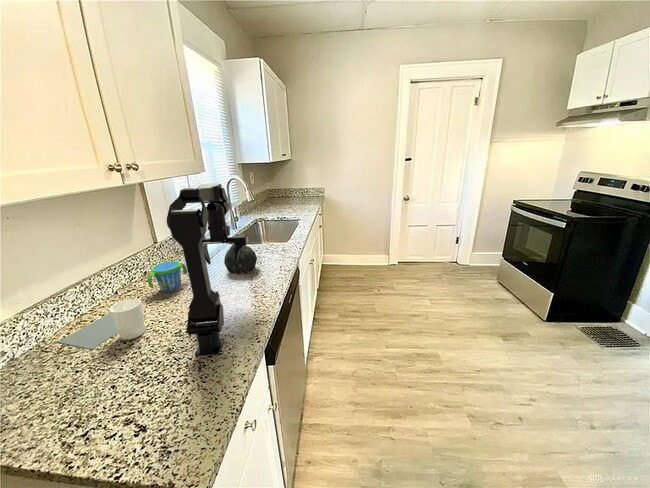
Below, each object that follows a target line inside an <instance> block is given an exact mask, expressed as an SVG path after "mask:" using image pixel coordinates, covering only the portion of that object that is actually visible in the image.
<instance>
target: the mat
mask: <svg viewBox="0 0 650 488" xmlns="http://www.w3.org/2000/svg"><path fill="white" fill-rule="evenodd" d="M143 315H144V317H146V315H145V314H143ZM117 334H119V332H118V331H117V329H116V326H115V324H114V321H113V319H112V316H111V313H110V312H109V313H108V314H105V315H104V316H102V317H100V318H98V319H96V320H95V321H93V322H91V323H89V324H87V325H86V326H84V327H81V328H80V329H79V330H76V331H74V332H72V333H71V334H69V335H67V336H66V337H64V338H61V339H60V340H57V344H63V345H68V346H73V347H77V348H82V349H88V350H94V349H96V348H97V347H99V346H100V345H102V344H103V343H105V342H106V341H108V340H110V339H111V338H112V337H115V336H116V335H117Z"/></svg>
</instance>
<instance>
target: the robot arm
mask: <svg viewBox="0 0 650 488" xmlns="http://www.w3.org/2000/svg"><path fill="white" fill-rule="evenodd" d="M187 204H201V209H200V208H190V209H184V208H186V206H187ZM206 204H207V205H206ZM168 207H169V208H168V212H167V216H166V224H167V225H166V226H167V227H168V229H169V231H170V234H171V236H172V239H173V240H175V241H176V242H177V244H179V245H180V246H181V248H182V252H183V256H184V260H185V266H186V268H187V274H188V278H189V283H190V287H191V291H192V299H191V302H190V303H189V306H188V311H187V324H186V326H187V327H186V332H187V335H188V336H191V335H196V339H197V344H198V347H197V348H196V350H195V352H194V356H210V355H211V356H212V355H213V356H214V355H218V354H220V352H221V349H222V347H223V345H224V343H225V338H224V337H223V338H222V337H220V333H221V332H222V329H223V327H224V324H225V316H224V315H225V314H224V313H225V312H224V305H223V304H222V301H221V298H220V292H218V291H214V290H213V289H212V286H211V280H210V276H209V270H208V265H209V266H210V265H211V263H212V261H211V257H210V254H209V253H210V252H209V250H208V245H213V244H214V245H215V244H232V243H233V244H235V246H234V255H235V263H237V260H238V255H239V251H240V248H243V246H248V243H249V235H248V234H247V233H236V234H235V235H234V236H232V237H229V236H231V227H230V225H227V221H226V215H227V214H228V213H229V211H230V209H231V204H230V203H229V198H228V195H227V193H226V189H225V187H224V186H223V185H222V184H221V183H207V184H205V183H204V184H203V183H202V184H200V185H198V186H197V187H183V188H181V189H180V191H179V195H178V196H177V198H176V199H175V200H174V201H173V202H172V203H171V204H170V205H169V206H168ZM207 231H208V233H209V238H206V236H205V235H206V232H207ZM207 264H208V265H207Z"/></svg>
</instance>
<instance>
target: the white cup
mask: <svg viewBox="0 0 650 488" xmlns="http://www.w3.org/2000/svg"><path fill="white" fill-rule="evenodd" d="M109 313H111V316H112V319H113V321H114V324H115V326H116V329H117V331H118V332H119V333H118V335H119V337H120V339H121V340H125V341H126V340H133V339H136V338H139V337H141V336H142V335H143V334H144V333H145V332H146V330H147V329H146V328H147V327H146V324H145V316H144V315H145V314H144V310H143V305H142V301H141V299H139V298H129V299H124V300H121V301H118V302H116V303H115V304H113V305H112V306H110V307H109Z"/></svg>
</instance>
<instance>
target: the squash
mask: <svg viewBox="0 0 650 488" xmlns="http://www.w3.org/2000/svg"><path fill="white" fill-rule="evenodd" d="M234 246H235V244H234V243H233V244H232V245H231V246H230V248H229V249H228V250H227V251H226V253H225V256H224V261H223V264H224V266H225V267H226V270H227V272H228V273H229V274H235V275H241V274H248V273H249V272H252V271H254V270H255V267H256V264H257V261H258V257H257V253H256V252H255V251H254V250H253V249H252V247H250V246H249V245H246V246H243V248H240V251H239V255H238V260H237V263H235V255H234Z"/></svg>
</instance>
